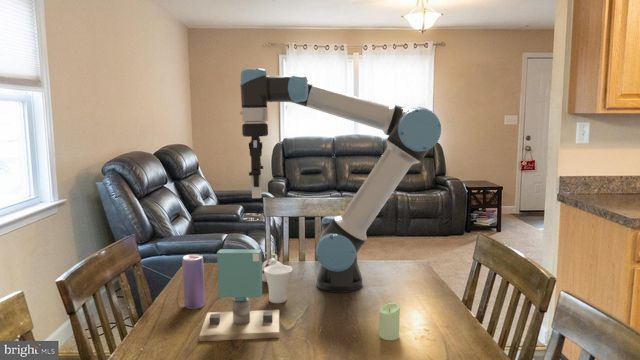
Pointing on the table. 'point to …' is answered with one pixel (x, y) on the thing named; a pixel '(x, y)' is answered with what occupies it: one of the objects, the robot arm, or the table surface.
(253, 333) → the post base
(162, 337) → the table surface
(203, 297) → the beverage can
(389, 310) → the candle
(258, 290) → the teal rectangular panel
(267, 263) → the white ceramic figurine
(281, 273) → the cup
